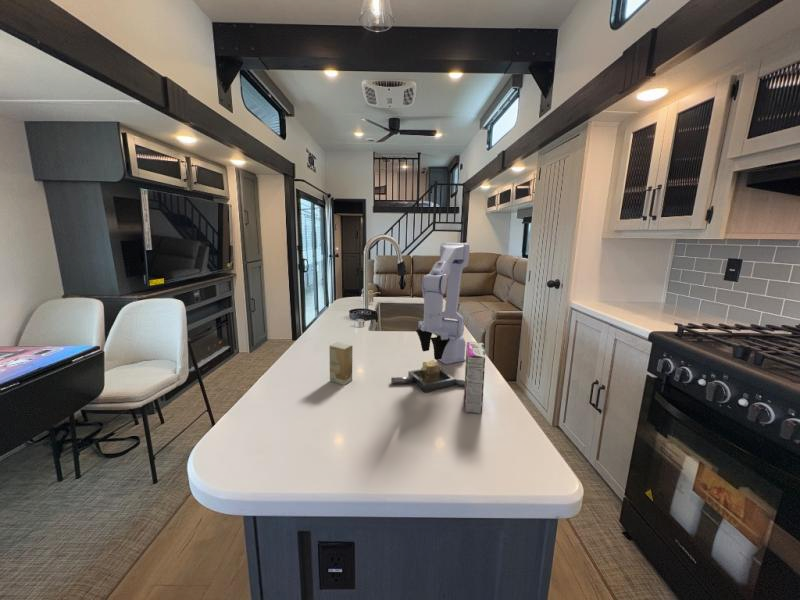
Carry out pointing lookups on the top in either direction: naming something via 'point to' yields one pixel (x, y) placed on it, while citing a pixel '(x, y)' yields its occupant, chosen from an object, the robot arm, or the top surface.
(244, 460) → the top surface
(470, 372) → the candy bar box
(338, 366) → the skincare box
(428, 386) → the grey square tray
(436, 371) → the brass block with pegs
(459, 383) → the steel shaft
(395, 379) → the steel shaft
